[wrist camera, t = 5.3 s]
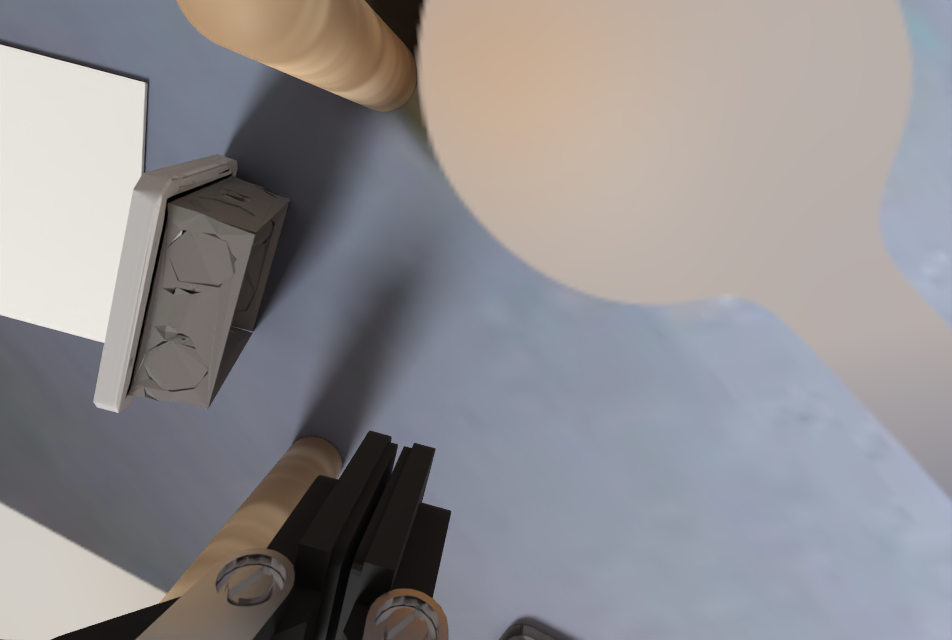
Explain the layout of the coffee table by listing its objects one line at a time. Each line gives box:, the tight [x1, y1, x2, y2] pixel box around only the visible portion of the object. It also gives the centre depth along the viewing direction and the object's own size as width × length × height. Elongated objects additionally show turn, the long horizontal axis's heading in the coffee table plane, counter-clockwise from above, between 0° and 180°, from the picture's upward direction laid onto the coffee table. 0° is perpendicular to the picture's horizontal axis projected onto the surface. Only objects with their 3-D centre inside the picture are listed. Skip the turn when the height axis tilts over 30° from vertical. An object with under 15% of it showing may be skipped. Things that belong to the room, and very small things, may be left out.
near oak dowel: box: [177, 0, 417, 112], centre depth 17 cm, size 3×3×12 cm
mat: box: [0, 45, 148, 343], centre depth 25 cm, size 14×15×1 cm
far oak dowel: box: [160, 436, 342, 603], centre depth 23 cm, size 3×3×12 cm
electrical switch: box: [93, 154, 291, 413], centre depth 21 cm, size 9×5×9 cm, turn 158°
